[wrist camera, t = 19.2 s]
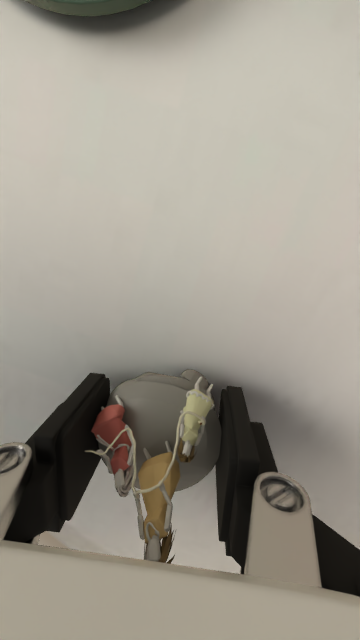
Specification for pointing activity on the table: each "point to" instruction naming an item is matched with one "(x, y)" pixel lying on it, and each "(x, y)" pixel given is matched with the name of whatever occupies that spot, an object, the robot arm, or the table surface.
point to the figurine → (158, 445)
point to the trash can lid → (87, 6)
